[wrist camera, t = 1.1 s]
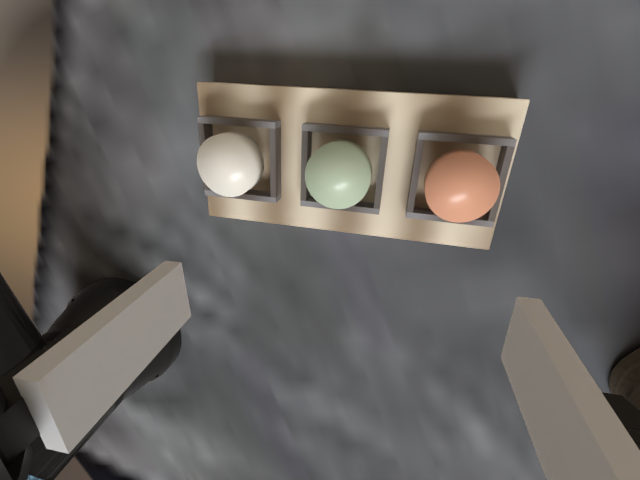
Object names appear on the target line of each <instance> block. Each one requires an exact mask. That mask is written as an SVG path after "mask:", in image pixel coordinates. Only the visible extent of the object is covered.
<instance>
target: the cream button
mask: <svg viewBox="0 0 640 480" xmlns="http://www.w3.org/2000/svg"><path fill="white" fill-rule="evenodd" d="M197 167H198V171H199V174H200V176H201V178H202V180H203V181H204V183H205V184H206V185H207V186H208V187H209V188H210V189H211V190H212V191H213V192H215V193H217V194H219V195H222V196H225V197H236V196H240V195H242V194H244V193H245V192H247V191H248V190H250V189H251V188H252V187H254V186H255V185H256V184H257V183H258V182H259V181H260V179H261V177H262V175H263V172H264V159H263V155H262V152H261V150H260V148H259V146H258V145H257V144H256V142H255V141H254V140H253V139H251V138H250V137H249V136H247V135H245V134H243V133H240V132H236V131H229V132H225V133H221V134H218V135H214V136H212V137H210V138H208V139H206V140H205V141H204V142H203V143H202V145H201V146H200V148H199V151H198V154H197Z"/></svg>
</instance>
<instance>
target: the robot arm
mask: <svg viewBox="0 0 640 480" xmlns="http://www.w3.org/2000/svg"><path fill="white" fill-rule="evenodd" d="M190 317H191V312H190V307H189V301H188V296H187V290H186V285H185V279H184V274H183V268H182V263H181V262H173V261H164V262H163V263H162V264H160V265H159V266H158V267H156V268H155V269H154V270H152V271H151V272H150V273H148V274H147V275H146V276H144V277H143V278H142V279H141V280H139V281H138V282H137V283H135V284H134V283H131V282H128V281H125V280H121V279H113V278H107V279H101V280H97V281H95V282H93V283H91V284H90V285H88V286H87V287H85V288H84V289H82V290H81V291H79V292H78V293H77V294H76V295H75V296H74V297H73V298H72V299H71V301H70V302H69V303H68V305H67V308H66V309H65V311H64V312H63V313H62V314H61V315H60V316H59V317H58V318H57V319H56V321H55V322H54V323H53V324H52V326H51V327H50V328H49V329H48V331H47V332H46V333H44V334H43V335H42V336H41V334H40V333H39V331H38V330H37V328H36V327H35V325H34V324H33V322H32V321H31V319H30V318H29V317H28V315H27V313H26V312H25V310H24V309H23V307H22V306H21V304H20V303H19V301H18V300H17V298H16V296H15V295H14V293H13V292H12V290H11V289H10V287H9V286H8V284H7V283H6V281H5V280H4V278H3V276H2V275H1V273H0V480H54V479H55V478H56V477H57V476H58V474H59V473H60V472H61V471H62V470H63V469H64V467H65V466H66V465H67V464H68V463H69V462H70V460H71V459H72V458H73V457H74V456H75V455H76V454H77V452H78V451H79V450H80V449H81V448H82V447H83V446H84V444H85V443H86V442H87V441H88V440H89V439H90V437H91V436H92V435H93V434H94V433H95V432H96V431H97V429H98V428H99V427H100V426H101V425H102V424H103V422H104V421H105V420H106V419H107V418H108V417H109V416H110V414H111V413H112V412H113V411H114V410H115V409H116V407H117V406H118V405H119V404H120V403H121V402H122V401H123V400H124V399H125V398H126V397H128V396H129V395H131V394H132V393H134V392H135V391H137V390H138V389H139V388H141V387H142V386H143V385H145V384H146V383H147V382H149V381H152V380H154V379H156V378H158V377H159V376H161V375H162V374H163V373H164V372H165V371H166V370H167V369H168V368H169V367H170V365H171V364H172V363H173V362H174V361H175V359H176V358H177V356H178V354H179V351H180V347H181V338H180V333H179V329H180V328H181V327H182V326H183V325H184V324H185V322H186V321H187V320H188V319H189V318H190ZM501 359H502V362H503V365H504V367H505V370H506V373H507V375H508V378H509V381H510V383H511V386H512V389H513V392H514V394H515V397H516V400H517V402H518V405H519V408H520V410H521V413H522V416H523V418H524V421H525V424H526V426H527V429H528V432H529V435H530V437H531V440H532V443H533V445H534V448H535V451H536V453H537V456H538V459H539V461H540V464H541V467H542V470H543V472H544V475H545V478H546V480H640V410H638V409H637V408H636V407H635V406H634V405H633V404H631V403H630V402H629V401H628V400H627V399H625V398H624V397H623V396H622V395H616V394H609V393H602V392H601V391H600V389H599V388H598V386H597V384H596V383H595V381H594V380H593V378H592V377H591V375H590V374H589V372H588V371H587V369H586V368H585V366H584V365H583V363H582V362H581V360H580V359H579V357H578V355H577V354H576V352H575V351H574V349H573V348H572V346H571V345H570V343H569V342H568V340H567V339H566V337H565V336H564V334H563V333H562V331H561V330H560V328H559V326H558V325H557V323H556V322H555V320H554V319H553V317H552V316H551V314H550V313H549V311H548V310H547V308H546V307H545V305H544V304H543V302H542V301H541V299H534V298H525V297H517V298H516V302H515V306H514V309H513V313H512V317H511V321H510V324H509V328H508V332H507V335H506V339H505V343H504V346H503V350H502V354H501Z"/></svg>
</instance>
